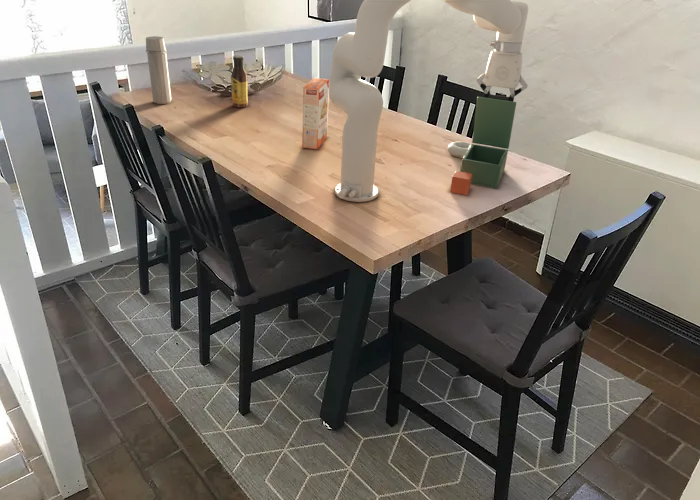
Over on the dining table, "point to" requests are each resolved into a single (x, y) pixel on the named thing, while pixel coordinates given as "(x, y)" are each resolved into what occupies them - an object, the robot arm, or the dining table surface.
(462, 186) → the block
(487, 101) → the lid
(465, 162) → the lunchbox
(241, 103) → the sauce bottle
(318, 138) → the cracker box
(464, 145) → the donut
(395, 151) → the dining table surface
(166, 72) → the water bottle
